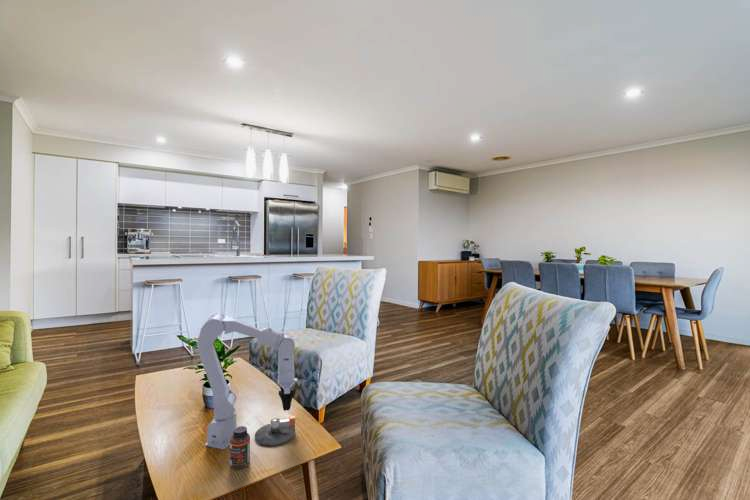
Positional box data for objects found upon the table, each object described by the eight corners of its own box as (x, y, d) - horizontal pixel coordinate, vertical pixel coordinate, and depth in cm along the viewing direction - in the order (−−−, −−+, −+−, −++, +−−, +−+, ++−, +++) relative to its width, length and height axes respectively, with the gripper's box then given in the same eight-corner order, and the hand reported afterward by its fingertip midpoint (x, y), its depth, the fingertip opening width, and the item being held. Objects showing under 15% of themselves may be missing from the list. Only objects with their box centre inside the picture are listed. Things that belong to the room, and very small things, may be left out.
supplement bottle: (228, 472, 109) (228, 435, 108) (231, 460, 114) (230, 425, 114) (249, 468, 110) (249, 432, 110) (250, 457, 116) (250, 423, 116)
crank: (270, 434, 127) (270, 421, 127) (270, 429, 130) (270, 417, 130) (295, 431, 129) (295, 419, 129) (295, 427, 132) (295, 414, 132)
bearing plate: (281, 449, 120) (281, 446, 120) (246, 442, 125) (246, 438, 125) (302, 428, 134) (302, 425, 134) (269, 422, 138) (269, 419, 138)
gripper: (298, 374, 125) (298, 412, 125) (296, 360, 139) (296, 395, 139) (278, 376, 123) (278, 415, 123) (277, 362, 137) (277, 397, 137)
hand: (286, 405), depth 131 cm, fingers open, 7 cm apart
